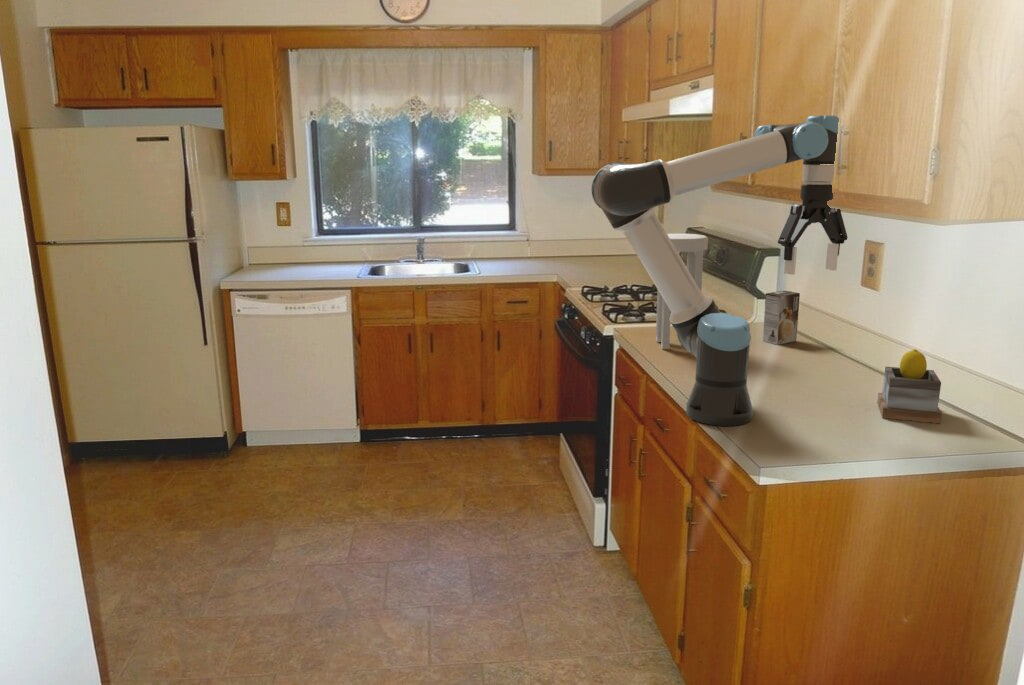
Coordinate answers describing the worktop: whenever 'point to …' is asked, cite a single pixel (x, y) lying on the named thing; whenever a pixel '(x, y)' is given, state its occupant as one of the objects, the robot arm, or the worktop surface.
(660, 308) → the stool
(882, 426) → the worktop surface
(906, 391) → the planter box
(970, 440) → the worktop surface
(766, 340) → the coffee box
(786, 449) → the worktop surface
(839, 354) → the worktop surface
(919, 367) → the lemon
